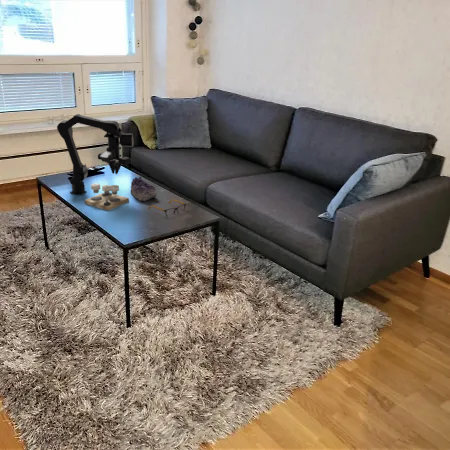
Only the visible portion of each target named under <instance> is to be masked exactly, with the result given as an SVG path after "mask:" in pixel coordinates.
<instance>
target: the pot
mask: <svg viewBox="0 0 450 450" xmlns="http://www.w3.org/2000/svg"><path fill="white" fill-rule="evenodd" d="M104 205H106V206H108V205H111V203H110V202H108V197H106V202H104Z"/></svg>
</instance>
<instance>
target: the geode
mask: <svg viewBox="0 0 450 450" xmlns="http://www.w3.org/2000/svg"><path fill="white" fill-rule="evenodd" d="M156 191H157V189H156V187H155V186H154V185H152V184H150V183H148V182H147V181H144V179H143V178H142V177H141V176H139V177H138V176H137V177H134V178H132V181H131V186H130V194H132V196H134V197H135V198H136V199H137V200H139V201H140V202H141V201H142V202H146V201H149V200H151V199H155V198H156V197H157V192H156Z"/></svg>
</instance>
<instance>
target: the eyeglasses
mask: <svg viewBox="0 0 450 450" xmlns="http://www.w3.org/2000/svg"><path fill="white" fill-rule="evenodd" d="M172 201H174V202H177V203H179V204H181V205H180V206H177V207H171V208H168V209H163V208H160V207H158V206H155V205H150V206H149V207H148V208H147V209H148V210H150V209H151V208H152V207H153V208H156V209H158V210H160V211H162V212H164V214H165V216H166V217H168V214H167V211H169V210H170V211H171V210H173V209H174V210H173V213H172V215H175V213H176V212H177V213H179V208H180V207H182V206H184V208H183V210H182V212H184V211H185V209H186V205H187V203H184V202H182V201H180V200H179V201H178V200H176V199H171V200H169V201H168V203H171V202H172Z"/></svg>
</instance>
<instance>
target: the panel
mask: <svg viewBox="0 0 450 450" xmlns="http://www.w3.org/2000/svg"><path fill="white" fill-rule="evenodd" d="M106 197H108V202H110V203H111V205H108V206H106V205H104V202H106ZM129 202H130V198H129V197H128V196H127V197H126V196H122V195H118V194H116V195H113V194H112V192H111V191H109V194H104V192H101V193H98V194H97V195H94V196H92V197H89V198H87V199H84V204H85V205H89V206H91V207H94V208H98V209H101V210H105V211H111V210H113V209H116V208H117V207H120V206H122V205H125V204H127V203H129Z"/></svg>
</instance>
